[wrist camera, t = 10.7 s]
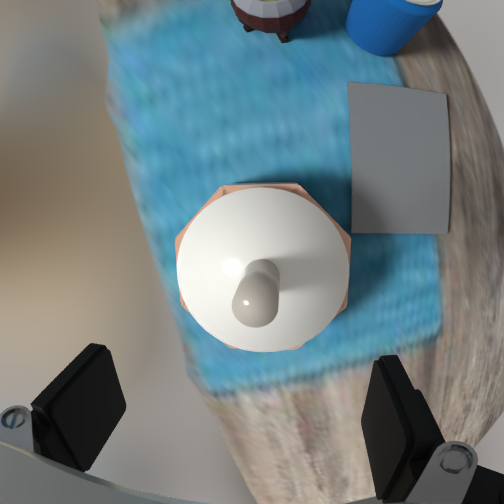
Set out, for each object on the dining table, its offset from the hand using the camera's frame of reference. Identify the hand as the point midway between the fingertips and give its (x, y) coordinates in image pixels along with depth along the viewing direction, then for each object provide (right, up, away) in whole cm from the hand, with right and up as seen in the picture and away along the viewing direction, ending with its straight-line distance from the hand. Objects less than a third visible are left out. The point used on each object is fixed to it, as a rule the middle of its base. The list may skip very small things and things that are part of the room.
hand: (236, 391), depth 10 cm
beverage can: (+13, +28, +15) cm, 34 cm away
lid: (+1, +3, +17) cm, 17 cm away
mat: (+16, +14, +18) cm, 28 cm away
